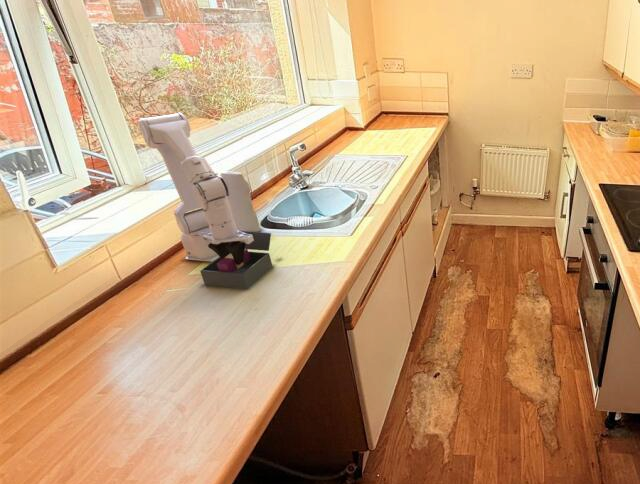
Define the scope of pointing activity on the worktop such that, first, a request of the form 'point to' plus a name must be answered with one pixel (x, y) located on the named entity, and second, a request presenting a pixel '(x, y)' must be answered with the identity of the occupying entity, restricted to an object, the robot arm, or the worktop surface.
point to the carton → (238, 272)
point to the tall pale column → (241, 202)
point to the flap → (259, 241)
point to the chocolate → (231, 263)
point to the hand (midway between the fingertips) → (234, 262)
